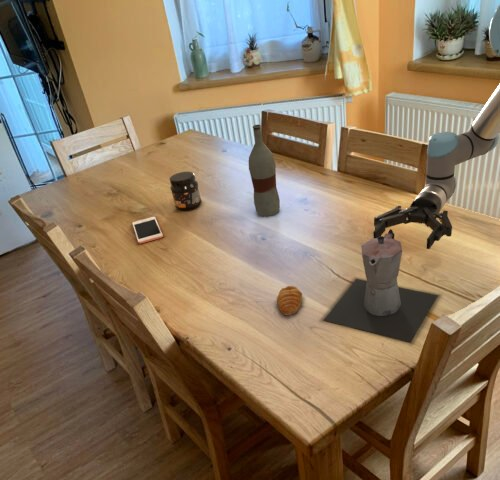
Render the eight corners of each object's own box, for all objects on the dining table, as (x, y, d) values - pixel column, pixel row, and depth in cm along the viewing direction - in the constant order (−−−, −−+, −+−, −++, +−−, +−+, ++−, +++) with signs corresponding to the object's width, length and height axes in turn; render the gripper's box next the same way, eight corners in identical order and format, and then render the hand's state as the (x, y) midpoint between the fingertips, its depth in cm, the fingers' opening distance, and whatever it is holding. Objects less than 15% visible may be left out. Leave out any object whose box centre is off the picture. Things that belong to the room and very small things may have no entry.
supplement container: (170, 208, 194) (162, 178, 186) (191, 198, 199) (184, 169, 191) (186, 214, 187) (178, 183, 180) (207, 203, 192) (201, 173, 185)
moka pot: (354, 320, 122) (352, 248, 110) (371, 286, 132) (371, 217, 120) (393, 326, 118) (396, 252, 106) (407, 290, 128) (411, 219, 116)
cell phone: (155, 218, 188) (154, 216, 188) (163, 237, 174) (162, 235, 174) (132, 224, 187) (131, 222, 186) (138, 244, 173) (138, 241, 172)
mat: (437, 295, 125) (437, 295, 125) (410, 342, 113) (410, 342, 113) (356, 279, 136) (356, 278, 136) (323, 320, 124) (323, 319, 124)
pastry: (302, 316, 127) (301, 303, 124) (276, 318, 128) (274, 306, 125) (302, 295, 134) (301, 283, 132) (277, 297, 135) (275, 285, 133)
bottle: (284, 213, 175) (274, 126, 157) (259, 220, 174) (246, 132, 156) (276, 204, 182) (266, 119, 164) (252, 210, 181) (239, 125, 163)
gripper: (474, 222, 133) (450, 261, 120) (384, 212, 146) (354, 246, 133) (477, 195, 128) (453, 233, 115) (384, 188, 141) (353, 220, 128)
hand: (400, 240), depth 124 cm, fingers open, 13 cm apart
